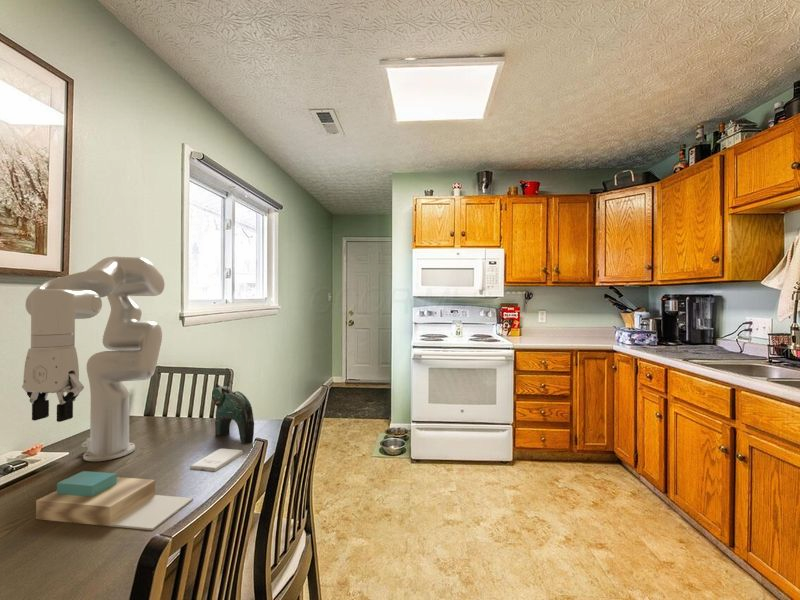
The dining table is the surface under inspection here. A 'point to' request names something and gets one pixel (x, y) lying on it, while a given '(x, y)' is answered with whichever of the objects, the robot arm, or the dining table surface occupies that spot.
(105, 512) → the tan wooden flat block
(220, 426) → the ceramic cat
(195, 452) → the dining table surface
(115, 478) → the teal rectangular slab
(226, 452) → the external hard drive
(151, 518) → the mat
